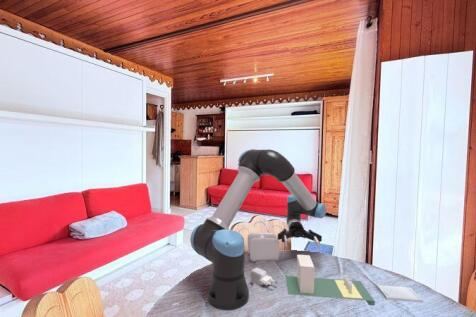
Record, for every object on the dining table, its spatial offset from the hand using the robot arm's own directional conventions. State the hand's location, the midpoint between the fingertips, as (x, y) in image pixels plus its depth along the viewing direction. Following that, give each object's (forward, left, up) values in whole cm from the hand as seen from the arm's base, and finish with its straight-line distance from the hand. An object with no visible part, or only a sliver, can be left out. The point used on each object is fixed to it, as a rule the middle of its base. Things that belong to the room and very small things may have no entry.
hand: (301, 244), depth 103 cm
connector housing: (0, -11, -12) cm, 16 cm away
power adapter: (-16, -12, -14) cm, 24 cm away
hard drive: (+35, -10, -14) cm, 39 cm away
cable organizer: (-17, +14, -14) cm, 26 cm away
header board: (+8, -11, -14) cm, 19 cm away
